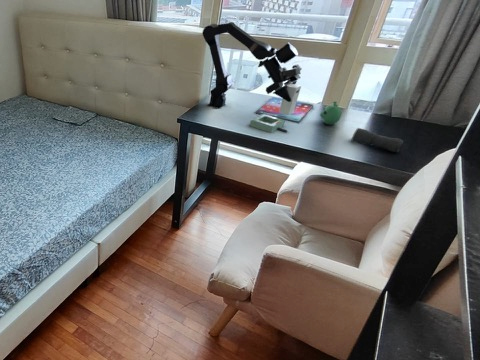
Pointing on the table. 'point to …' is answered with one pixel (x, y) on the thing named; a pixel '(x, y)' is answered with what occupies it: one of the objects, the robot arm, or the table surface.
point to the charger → (293, 92)
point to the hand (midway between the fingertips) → (292, 100)
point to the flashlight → (377, 140)
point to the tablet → (273, 110)
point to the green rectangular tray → (268, 123)
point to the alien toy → (331, 114)
